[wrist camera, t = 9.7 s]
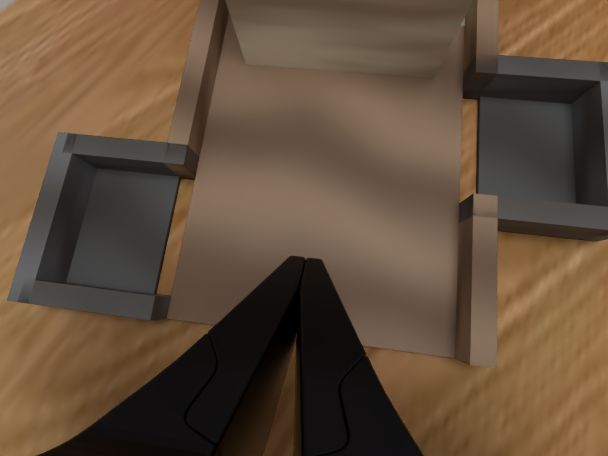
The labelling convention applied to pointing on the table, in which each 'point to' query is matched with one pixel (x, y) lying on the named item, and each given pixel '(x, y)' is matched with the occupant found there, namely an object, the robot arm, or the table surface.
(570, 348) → the table surface
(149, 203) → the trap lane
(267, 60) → the maple block
